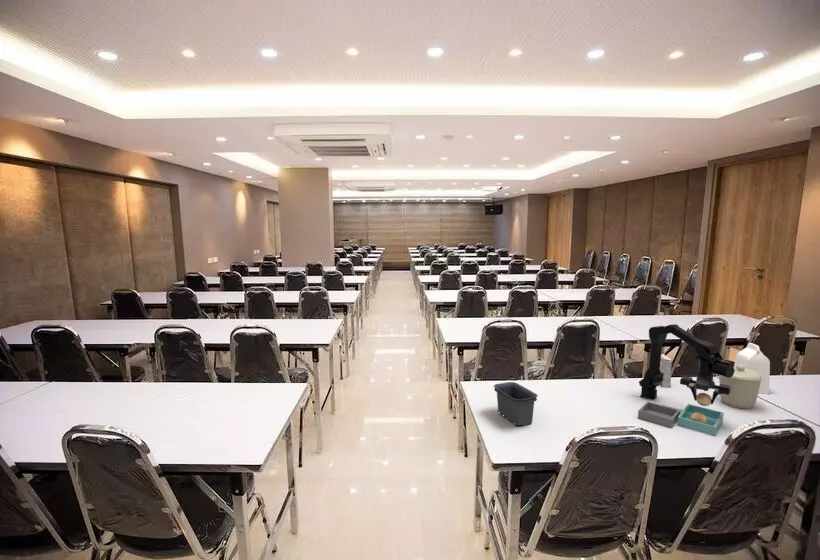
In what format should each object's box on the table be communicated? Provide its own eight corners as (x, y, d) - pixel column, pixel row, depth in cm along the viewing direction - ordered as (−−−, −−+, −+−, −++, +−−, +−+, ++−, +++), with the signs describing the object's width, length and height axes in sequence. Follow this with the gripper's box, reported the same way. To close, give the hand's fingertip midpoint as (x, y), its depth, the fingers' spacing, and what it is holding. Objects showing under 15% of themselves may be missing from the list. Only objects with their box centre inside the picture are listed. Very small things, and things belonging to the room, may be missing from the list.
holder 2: (677, 425, 184) (677, 417, 184) (687, 411, 198) (688, 403, 197) (714, 436, 174) (715, 427, 174) (723, 420, 188) (723, 412, 187)
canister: (708, 396, 216) (711, 358, 213) (746, 398, 212) (749, 360, 209) (727, 410, 198) (730, 369, 196) (769, 413, 194) (773, 371, 192)
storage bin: (490, 411, 201) (490, 384, 199) (516, 406, 206) (516, 379, 205) (516, 430, 181) (516, 400, 180) (543, 424, 187) (544, 395, 185)
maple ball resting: (688, 425, 183) (689, 413, 182) (691, 421, 187) (692, 408, 186) (704, 430, 179) (705, 417, 178) (707, 425, 183) (708, 412, 182)
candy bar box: (653, 380, 239) (655, 353, 237) (662, 380, 238) (664, 354, 236) (661, 387, 228) (662, 359, 227) (670, 387, 227) (672, 360, 226)
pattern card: (659, 409, 200) (659, 408, 200) (662, 405, 205) (662, 404, 205) (680, 415, 194) (680, 413, 194) (683, 411, 198) (683, 409, 198)
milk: (731, 385, 230) (735, 341, 227) (753, 385, 229) (757, 341, 225) (745, 393, 218) (749, 347, 215) (769, 394, 217) (773, 347, 214)
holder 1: (637, 418, 191) (638, 410, 191) (646, 409, 201) (647, 401, 200) (671, 428, 181) (672, 419, 181) (679, 418, 191) (680, 410, 190)
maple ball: (692, 402, 191) (693, 390, 190) (705, 402, 191) (706, 390, 190) (701, 408, 185) (702, 395, 185) (714, 408, 185) (715, 395, 184)
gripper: (678, 370, 187) (676, 401, 189) (728, 380, 174) (725, 414, 176) (684, 364, 195) (681, 394, 197) (732, 373, 182) (729, 406, 184)
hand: (703, 402), depth 188 cm, fingers closed on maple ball, 6 cm apart
